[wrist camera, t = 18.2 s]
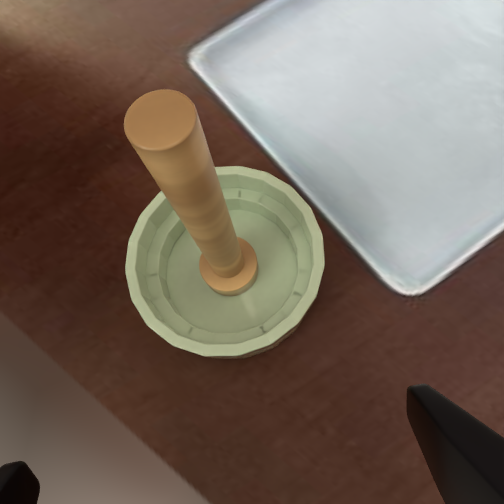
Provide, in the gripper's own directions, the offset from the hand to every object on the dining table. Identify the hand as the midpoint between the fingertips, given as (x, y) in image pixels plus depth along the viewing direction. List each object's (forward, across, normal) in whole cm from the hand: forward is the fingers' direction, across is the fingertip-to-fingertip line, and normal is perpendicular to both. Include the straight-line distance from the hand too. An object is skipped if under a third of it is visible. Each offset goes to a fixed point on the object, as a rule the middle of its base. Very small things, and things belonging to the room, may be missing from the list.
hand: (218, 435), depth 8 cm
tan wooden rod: (+15, 0, +4) cm, 15 cm away
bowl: (+15, 0, +4) cm, 16 cm away
